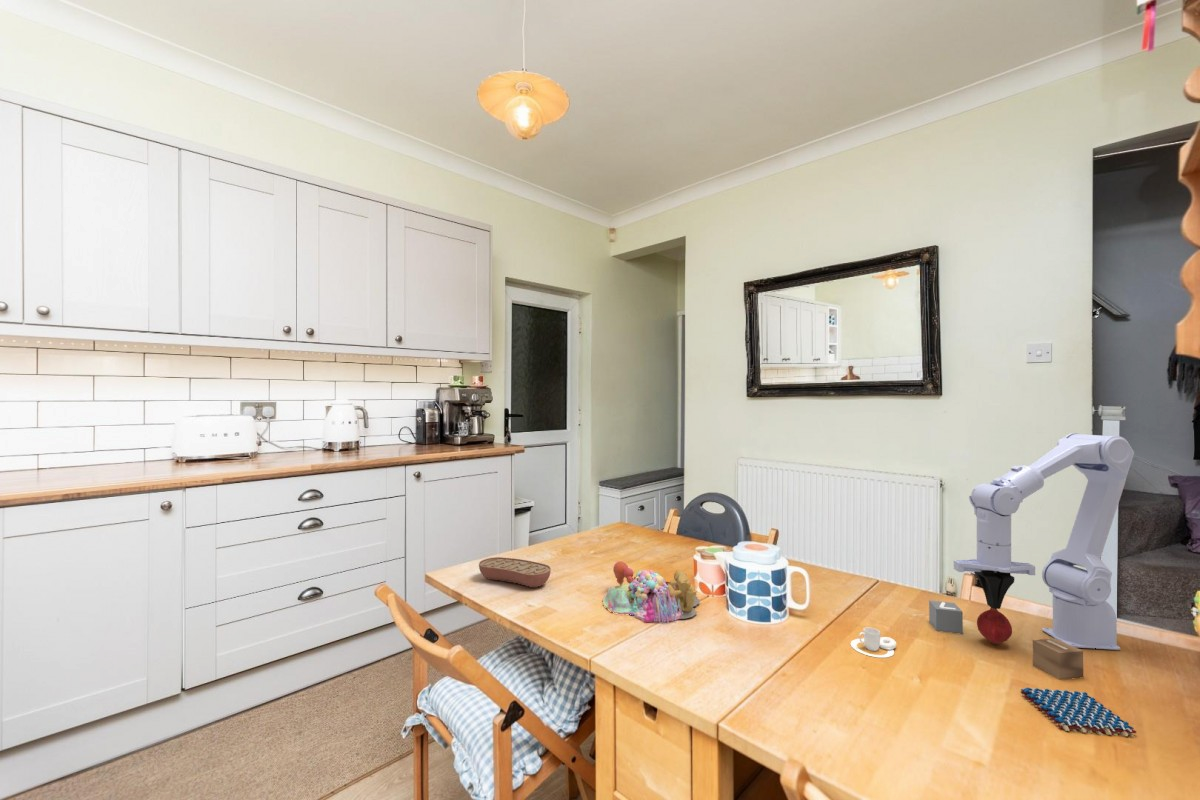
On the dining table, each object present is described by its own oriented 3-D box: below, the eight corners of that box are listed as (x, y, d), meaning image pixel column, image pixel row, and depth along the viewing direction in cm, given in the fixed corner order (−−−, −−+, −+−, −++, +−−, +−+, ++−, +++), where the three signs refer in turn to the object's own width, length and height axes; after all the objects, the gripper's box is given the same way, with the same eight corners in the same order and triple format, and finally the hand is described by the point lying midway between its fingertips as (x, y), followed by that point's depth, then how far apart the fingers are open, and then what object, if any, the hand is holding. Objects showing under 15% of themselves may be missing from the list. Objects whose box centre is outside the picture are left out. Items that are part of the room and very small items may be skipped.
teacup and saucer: (893, 644, 106) (893, 625, 106) (902, 663, 99) (902, 642, 99) (848, 638, 109) (847, 619, 109) (853, 656, 102) (853, 636, 102)
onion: (1018, 652, 102) (1018, 612, 102) (986, 650, 103) (985, 611, 103) (1002, 638, 108) (1001, 601, 108) (971, 636, 109) (971, 599, 109)
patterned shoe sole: (472, 581, 145) (472, 564, 145) (494, 571, 153) (494, 554, 153) (539, 595, 134) (538, 576, 134) (558, 582, 143) (558, 565, 143)
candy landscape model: (692, 587, 139) (692, 554, 139) (709, 625, 116) (709, 585, 116) (603, 587, 140) (602, 554, 140) (601, 625, 116) (600, 585, 116)
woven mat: (1141, 742, 76) (1141, 729, 76) (1062, 735, 78) (1062, 722, 78) (1086, 701, 86) (1086, 689, 86) (1017, 696, 88) (1017, 684, 88)
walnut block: (1055, 664, 98) (1055, 637, 98) (1083, 678, 93) (1083, 650, 93) (1032, 665, 97) (1032, 639, 97) (1059, 680, 92) (1059, 652, 92)
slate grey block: (954, 624, 115) (954, 602, 115) (962, 634, 110) (962, 611, 110) (929, 621, 116) (929, 599, 116) (936, 631, 112) (936, 608, 112)
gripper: (967, 546, 102) (967, 612, 102) (1046, 549, 100) (1046, 617, 100) (948, 536, 109) (948, 599, 109) (1021, 539, 107) (1021, 602, 107)
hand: (993, 606), depth 105 cm, fingers closed, pressing on onion
